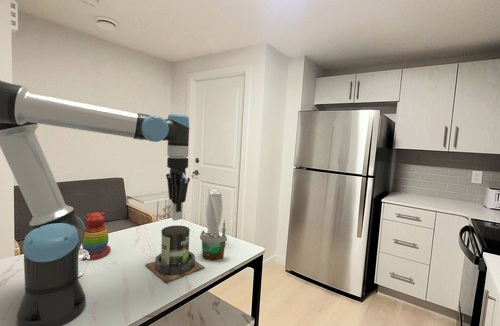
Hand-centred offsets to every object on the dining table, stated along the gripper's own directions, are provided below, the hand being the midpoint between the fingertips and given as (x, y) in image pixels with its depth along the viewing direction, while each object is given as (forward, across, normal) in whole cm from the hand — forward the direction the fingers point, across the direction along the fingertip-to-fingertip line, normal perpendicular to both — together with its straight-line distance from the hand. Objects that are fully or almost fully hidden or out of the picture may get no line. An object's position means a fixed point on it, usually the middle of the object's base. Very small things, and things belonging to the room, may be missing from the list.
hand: (176, 219), depth 99 cm
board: (+19, 0, 0) cm, 19 cm away
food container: (+19, -2, -15) cm, 24 cm away
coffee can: (+18, 0, 0) cm, 18 cm away
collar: (+19, 0, 0) cm, 19 cm away
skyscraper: (+20, +7, -24) cm, 32 cm away
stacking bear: (+19, +30, +19) cm, 40 cm away
